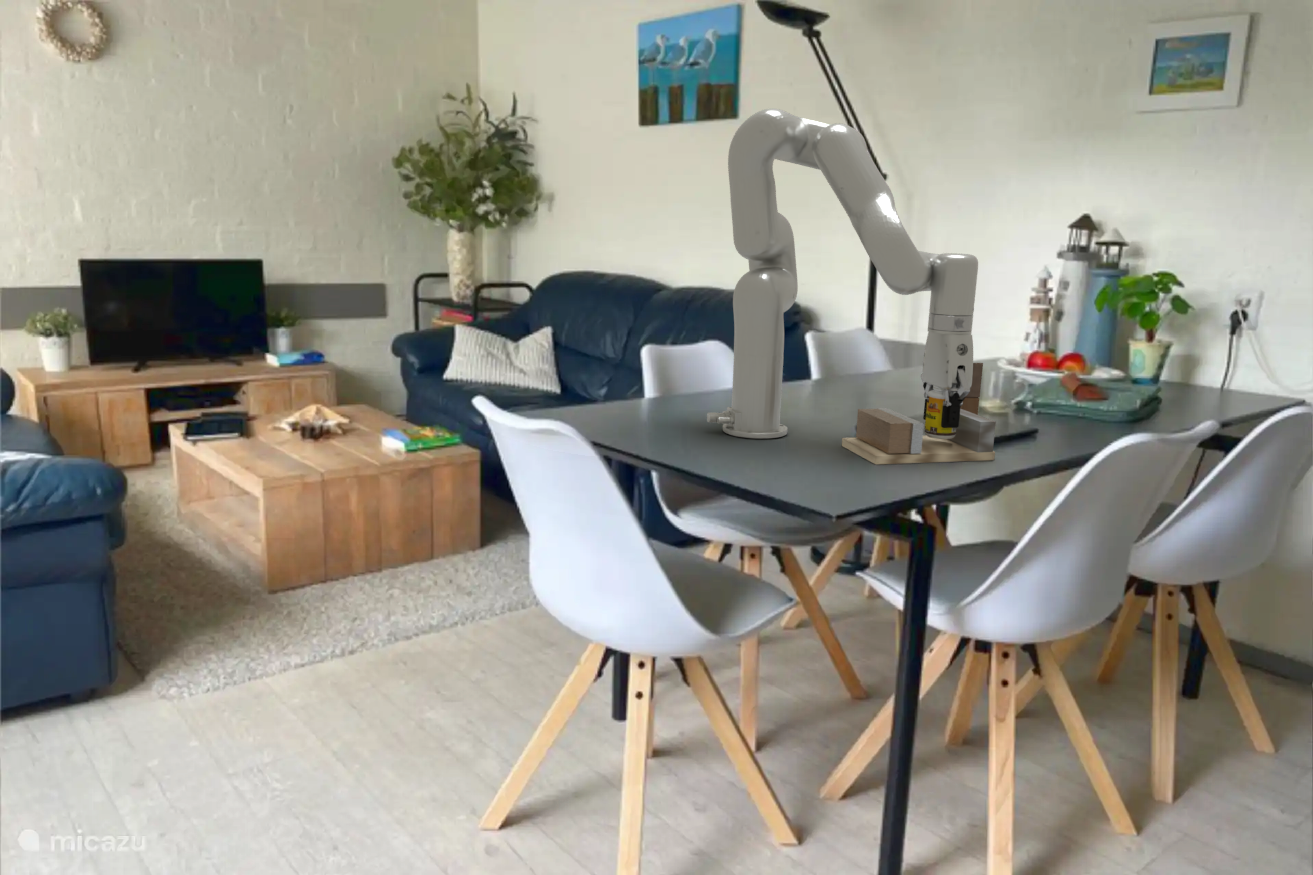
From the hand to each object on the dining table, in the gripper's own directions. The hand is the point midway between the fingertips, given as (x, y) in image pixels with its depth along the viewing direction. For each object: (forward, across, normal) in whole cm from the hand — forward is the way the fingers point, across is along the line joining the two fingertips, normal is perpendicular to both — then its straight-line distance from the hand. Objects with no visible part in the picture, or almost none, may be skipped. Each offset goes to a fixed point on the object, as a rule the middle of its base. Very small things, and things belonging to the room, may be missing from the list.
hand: (940, 422), depth 176 cm
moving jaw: (+4, 0, +10) cm, 11 cm away
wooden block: (+6, +20, -16) cm, 26 cm away
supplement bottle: (+3, 0, 0) cm, 3 cm away
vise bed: (+6, 0, +4) cm, 7 cm away
